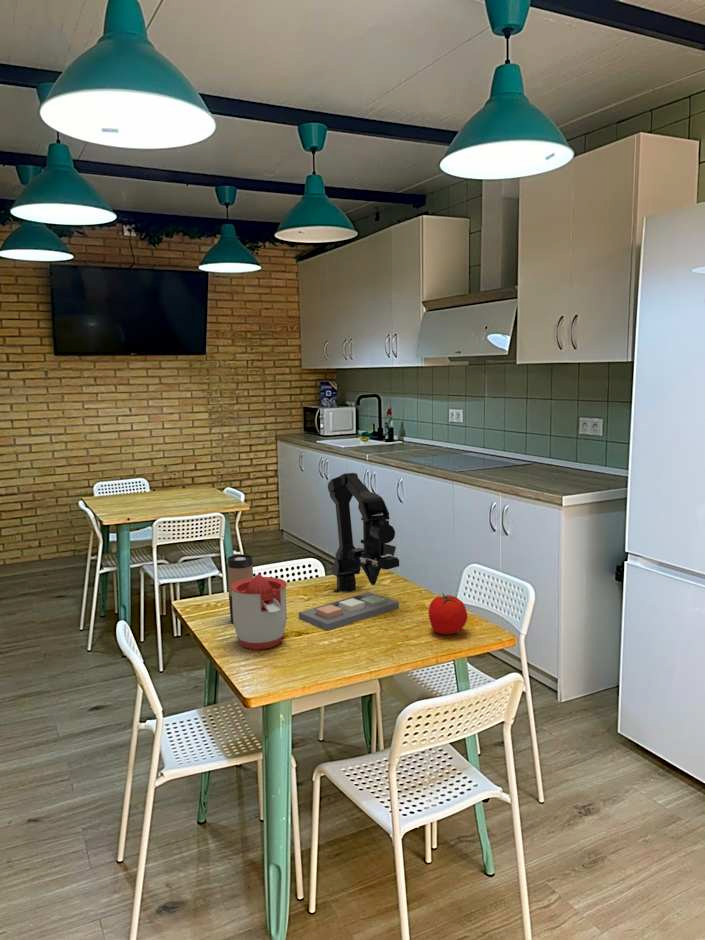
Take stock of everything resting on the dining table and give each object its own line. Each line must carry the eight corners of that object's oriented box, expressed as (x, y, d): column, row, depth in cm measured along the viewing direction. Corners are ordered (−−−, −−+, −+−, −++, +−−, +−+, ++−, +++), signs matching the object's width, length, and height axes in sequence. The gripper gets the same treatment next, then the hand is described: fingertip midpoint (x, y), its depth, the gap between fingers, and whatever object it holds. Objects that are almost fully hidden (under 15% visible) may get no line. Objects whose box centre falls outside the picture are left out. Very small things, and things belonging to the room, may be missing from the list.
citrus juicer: (250, 660, 188) (247, 587, 185) (224, 640, 202) (221, 572, 200) (301, 646, 196) (299, 577, 194) (273, 628, 211) (270, 563, 208)
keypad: (298, 621, 216) (298, 611, 216) (369, 600, 235) (369, 591, 235) (327, 634, 206) (327, 623, 205) (398, 610, 224) (398, 600, 224)
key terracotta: (316, 616, 214) (315, 608, 213) (330, 612, 217) (330, 604, 217) (327, 621, 210) (327, 613, 209) (342, 616, 213) (342, 608, 213)
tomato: (441, 622, 213) (441, 586, 212) (474, 630, 206) (475, 594, 205) (419, 634, 204) (418, 597, 203) (453, 643, 197) (453, 604, 196)
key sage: (360, 606, 226) (360, 598, 225) (373, 602, 229) (373, 595, 229) (372, 610, 221) (372, 603, 221) (385, 606, 225) (385, 599, 225)
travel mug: (259, 618, 220) (257, 555, 217) (246, 626, 213) (243, 561, 210) (239, 614, 223) (236, 553, 221) (224, 622, 216) (222, 559, 214)
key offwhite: (339, 609, 220) (338, 602, 219) (352, 605, 223) (352, 598, 223) (350, 613, 215) (350, 606, 215) (364, 609, 219) (364, 602, 219)
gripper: (411, 537, 220) (412, 585, 222) (371, 528, 234) (372, 573, 236) (385, 543, 213) (386, 593, 215) (345, 533, 227) (346, 580, 229)
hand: (373, 584), depth 224 cm, fingers closed
